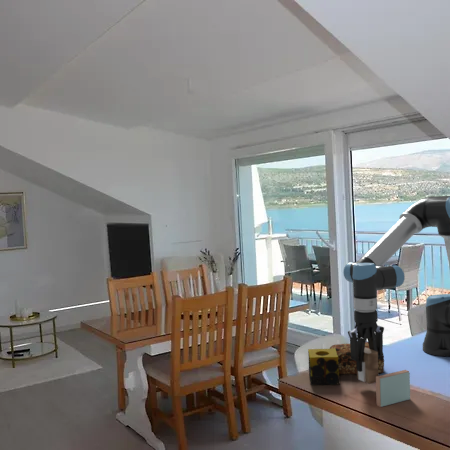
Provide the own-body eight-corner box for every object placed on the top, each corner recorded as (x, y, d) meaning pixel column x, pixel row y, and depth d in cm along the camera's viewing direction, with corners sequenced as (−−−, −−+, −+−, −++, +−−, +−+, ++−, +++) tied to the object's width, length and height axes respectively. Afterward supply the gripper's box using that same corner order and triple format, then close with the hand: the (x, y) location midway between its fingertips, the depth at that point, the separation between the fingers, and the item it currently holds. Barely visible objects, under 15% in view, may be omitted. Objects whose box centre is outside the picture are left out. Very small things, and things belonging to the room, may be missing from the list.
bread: (379, 365, 193) (378, 339, 193) (385, 375, 183) (384, 347, 182) (329, 365, 195) (328, 340, 194) (332, 375, 184) (332, 348, 184)
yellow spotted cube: (336, 375, 184) (336, 348, 184) (340, 385, 174) (339, 356, 174) (308, 375, 185) (307, 348, 185) (310, 385, 175) (309, 357, 175)
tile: (406, 397, 162) (405, 369, 161) (410, 399, 160) (410, 371, 159) (376, 405, 157) (375, 376, 156) (381, 407, 155) (380, 378, 154)
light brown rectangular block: (366, 376, 173) (365, 347, 172) (378, 381, 167) (377, 351, 167) (356, 378, 171) (356, 349, 170) (368, 383, 166) (368, 353, 165)
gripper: (352, 315, 161) (354, 387, 162) (393, 308, 168) (395, 377, 169) (337, 311, 168) (339, 380, 169) (378, 304, 175) (379, 371, 176)
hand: (367, 378), depth 169 cm, fingers closed on light brown rectangular block, 4 cm apart
